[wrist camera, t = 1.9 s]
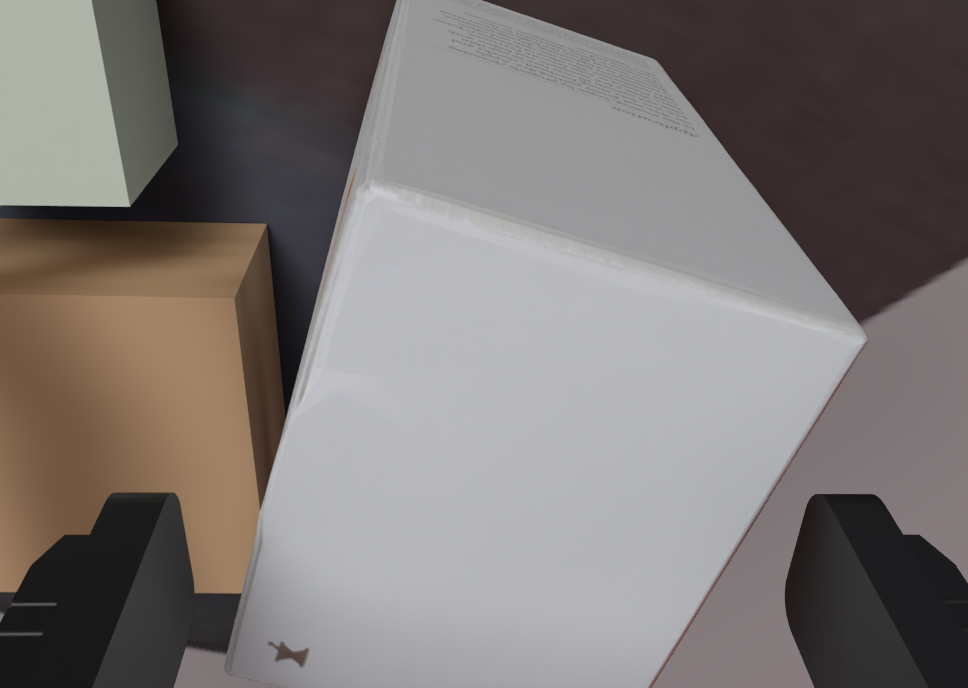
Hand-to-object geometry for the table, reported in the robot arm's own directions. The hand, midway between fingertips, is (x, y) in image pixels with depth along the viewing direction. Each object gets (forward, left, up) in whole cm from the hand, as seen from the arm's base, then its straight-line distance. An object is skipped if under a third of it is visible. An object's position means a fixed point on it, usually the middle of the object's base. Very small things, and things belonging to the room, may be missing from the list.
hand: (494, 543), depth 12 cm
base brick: (+10, +6, -13) cm, 17 cm away
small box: (0, 0, -13) cm, 13 cm away
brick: (+10, -3, -13) cm, 17 cm away
